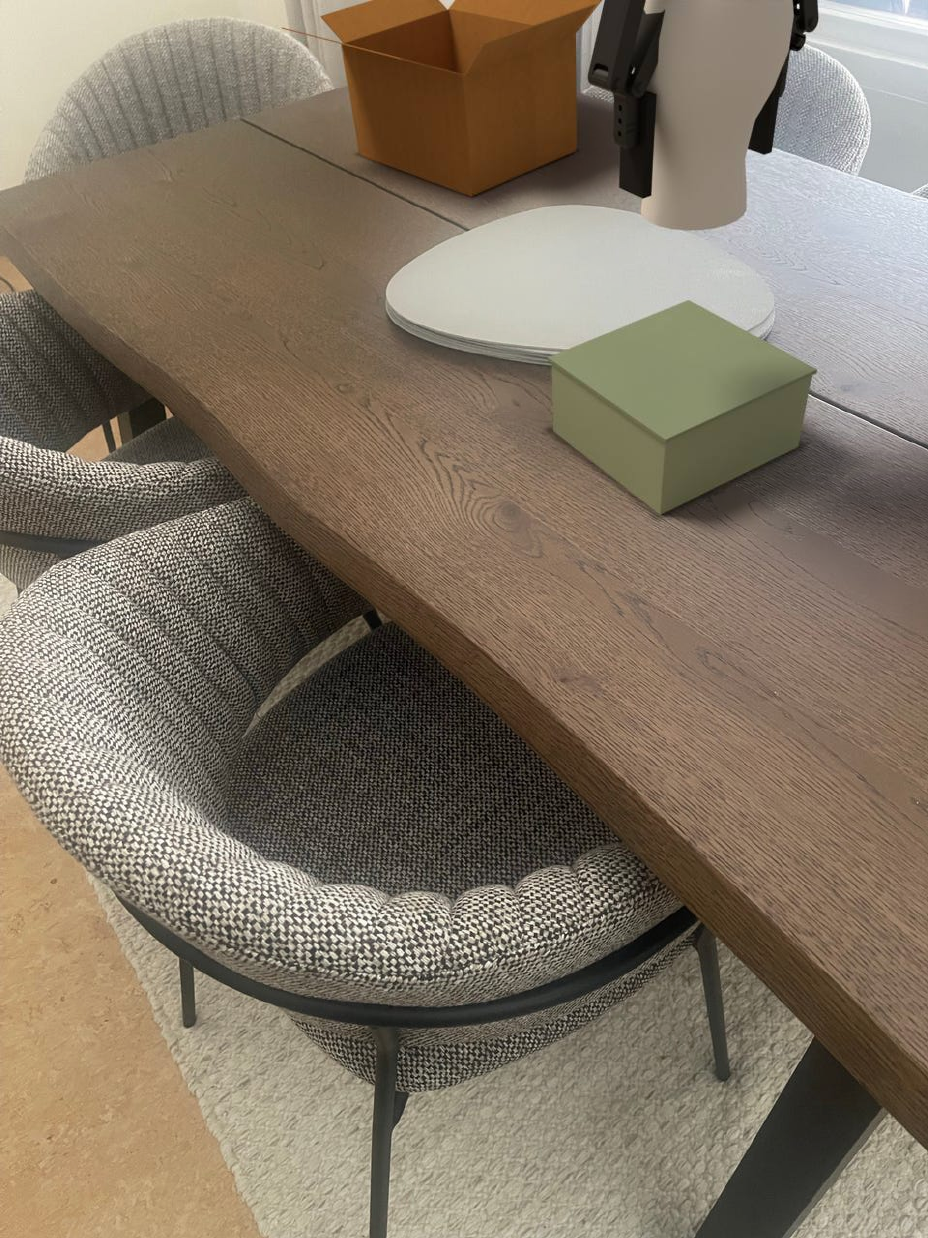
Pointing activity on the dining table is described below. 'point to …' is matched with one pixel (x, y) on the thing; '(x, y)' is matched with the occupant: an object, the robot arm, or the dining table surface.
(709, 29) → the cup
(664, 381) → the green flat-topped block
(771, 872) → the dining table surface
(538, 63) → the box
